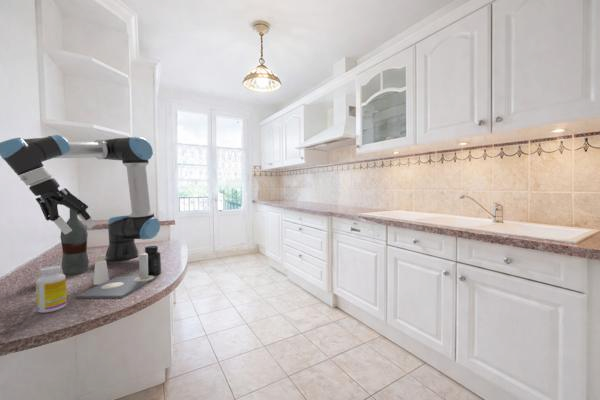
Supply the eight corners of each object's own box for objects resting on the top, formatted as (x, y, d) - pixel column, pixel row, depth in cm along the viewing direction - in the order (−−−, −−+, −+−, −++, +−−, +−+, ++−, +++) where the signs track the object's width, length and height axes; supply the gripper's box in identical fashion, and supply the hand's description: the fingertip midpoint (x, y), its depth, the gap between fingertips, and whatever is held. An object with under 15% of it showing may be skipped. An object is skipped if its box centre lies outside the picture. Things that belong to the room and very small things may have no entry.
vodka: (58, 276, 111) (55, 206, 110) (66, 270, 119) (63, 205, 119) (85, 273, 115) (83, 206, 114) (91, 267, 124) (89, 205, 123)
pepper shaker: (96, 285, 99) (95, 257, 99) (90, 283, 102) (89, 256, 102) (112, 281, 104) (111, 254, 104) (105, 279, 107) (104, 253, 106)
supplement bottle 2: (159, 270, 119) (159, 244, 118) (162, 274, 113) (161, 246, 113) (142, 273, 114) (141, 246, 114) (144, 277, 109) (143, 249, 109)
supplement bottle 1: (72, 304, 83) (71, 264, 83) (52, 313, 77) (50, 271, 76) (52, 303, 83) (51, 264, 83) (30, 313, 77) (28, 270, 76)
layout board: (118, 277, 108) (117, 252, 108) (157, 277, 108) (156, 252, 108) (75, 298, 88) (74, 266, 88) (123, 297, 88) (122, 266, 87)
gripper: (7, 193, 93) (50, 240, 101) (53, 178, 85) (94, 229, 94) (29, 184, 99) (68, 229, 108) (74, 169, 92) (110, 218, 101)
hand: (80, 229), depth 101 cm, fingers open, 13 cm apart
